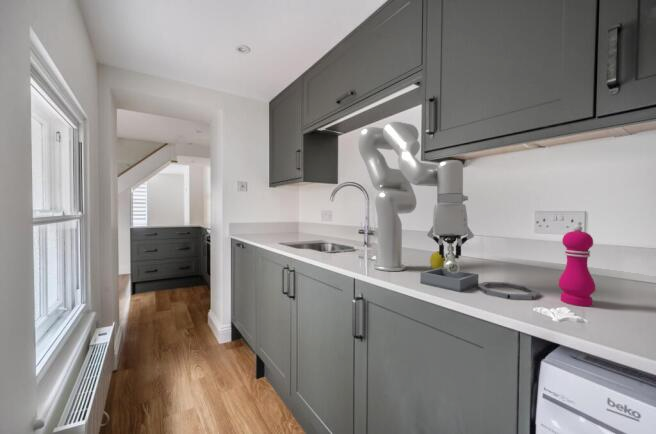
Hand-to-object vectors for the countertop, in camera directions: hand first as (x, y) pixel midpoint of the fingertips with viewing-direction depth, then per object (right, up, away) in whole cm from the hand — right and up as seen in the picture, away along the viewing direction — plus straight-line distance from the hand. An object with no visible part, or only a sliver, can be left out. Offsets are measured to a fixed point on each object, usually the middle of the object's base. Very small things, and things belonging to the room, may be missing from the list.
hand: (449, 257), depth 93 cm
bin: (0, -9, 0) cm, 9 cm away
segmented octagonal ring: (+13, -9, -8) cm, 18 cm away
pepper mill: (+25, -9, -18) cm, 32 cm away
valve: (0, -5, -1) cm, 5 cm away
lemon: (+3, -8, +19) cm, 21 cm away
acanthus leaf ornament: (+13, -10, -27) cm, 32 cm away
